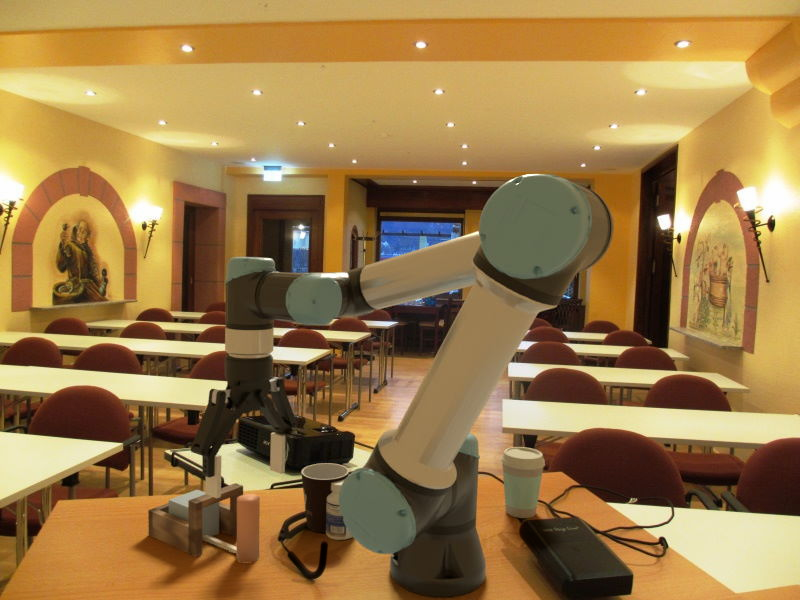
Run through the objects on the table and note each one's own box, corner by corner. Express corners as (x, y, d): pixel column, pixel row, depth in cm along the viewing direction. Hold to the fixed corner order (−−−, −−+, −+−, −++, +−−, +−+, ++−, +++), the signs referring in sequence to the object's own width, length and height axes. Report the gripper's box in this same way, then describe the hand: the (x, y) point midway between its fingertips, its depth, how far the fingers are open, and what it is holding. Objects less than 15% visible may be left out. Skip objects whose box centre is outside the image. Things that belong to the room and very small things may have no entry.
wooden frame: (242, 535, 112) (243, 485, 111) (196, 556, 104) (196, 503, 103) (195, 516, 119) (195, 469, 118) (148, 535, 111) (148, 485, 110)
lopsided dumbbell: (269, 553, 105) (269, 495, 104) (241, 568, 100) (241, 506, 100) (197, 524, 116) (197, 470, 115) (168, 535, 111) (168, 480, 110)
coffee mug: (340, 537, 111) (341, 481, 110) (293, 531, 113) (294, 477, 112) (357, 510, 123) (358, 460, 122) (315, 506, 124) (315, 456, 124)
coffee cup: (550, 519, 122) (553, 458, 121) (509, 523, 120) (512, 461, 119) (531, 502, 130) (533, 445, 129) (492, 505, 128) (494, 447, 127)
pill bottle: (346, 525, 117) (346, 473, 116) (361, 536, 113) (362, 482, 112) (320, 532, 114) (321, 479, 113) (335, 543, 110) (336, 488, 109)
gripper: (287, 342, 114) (285, 458, 115) (166, 360, 93) (165, 500, 95) (319, 347, 109) (316, 467, 111) (199, 367, 89) (198, 514, 91)
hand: (246, 483), depth 103 cm, fingers open, 13 cm apart
